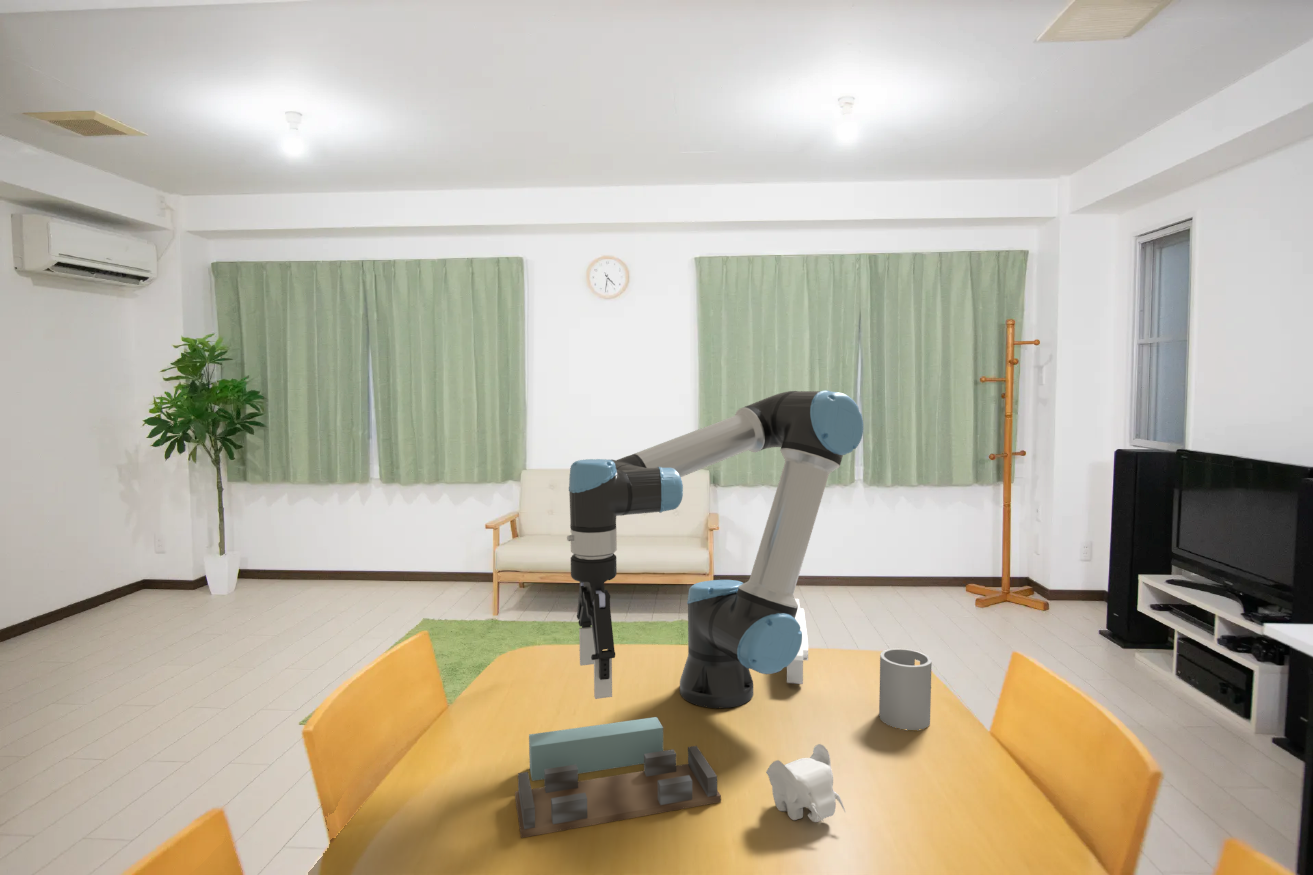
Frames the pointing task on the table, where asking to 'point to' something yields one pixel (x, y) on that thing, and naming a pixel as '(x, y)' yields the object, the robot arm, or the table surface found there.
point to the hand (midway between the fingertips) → (595, 679)
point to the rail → (595, 746)
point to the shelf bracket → (797, 664)
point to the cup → (905, 689)
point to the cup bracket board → (614, 793)
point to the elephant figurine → (805, 786)
